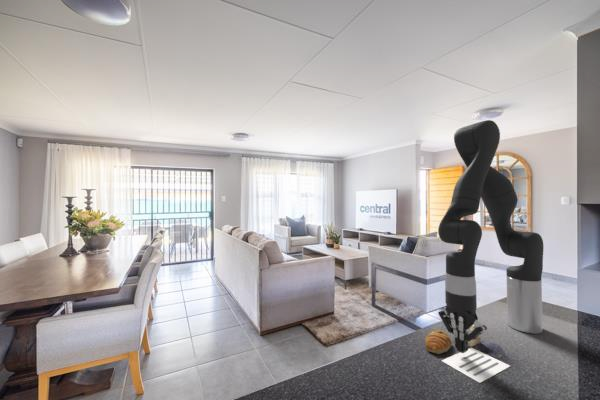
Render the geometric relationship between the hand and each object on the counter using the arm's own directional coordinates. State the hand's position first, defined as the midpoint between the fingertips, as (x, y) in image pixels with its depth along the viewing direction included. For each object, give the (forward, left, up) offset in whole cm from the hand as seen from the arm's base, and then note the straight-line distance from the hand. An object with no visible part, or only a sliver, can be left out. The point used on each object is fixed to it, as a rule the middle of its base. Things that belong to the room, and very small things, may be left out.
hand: (461, 351), depth 74 cm
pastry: (+1, -6, -2) cm, 7 cm away
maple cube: (-10, -4, -2) cm, 11 cm away
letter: (0, +4, -2) cm, 4 cm away
